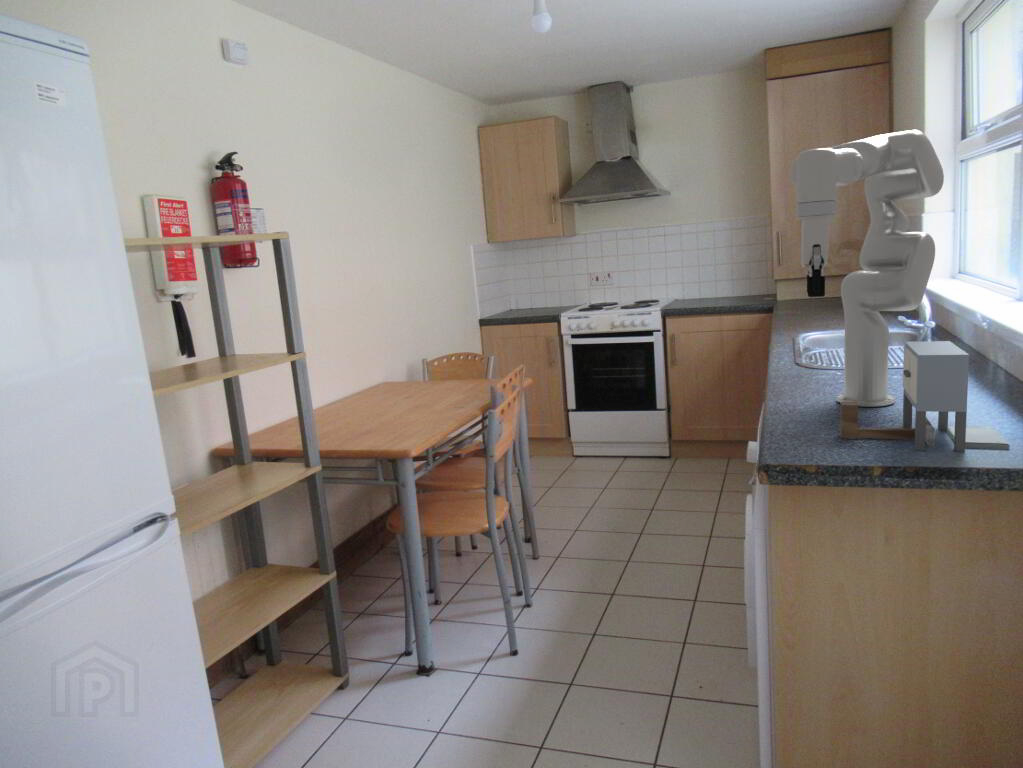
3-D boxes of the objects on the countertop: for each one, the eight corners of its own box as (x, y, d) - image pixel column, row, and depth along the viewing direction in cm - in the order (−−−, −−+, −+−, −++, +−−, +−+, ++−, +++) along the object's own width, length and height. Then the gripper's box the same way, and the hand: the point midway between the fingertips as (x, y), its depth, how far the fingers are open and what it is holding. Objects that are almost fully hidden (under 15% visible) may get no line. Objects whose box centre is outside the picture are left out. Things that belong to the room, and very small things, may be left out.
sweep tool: (839, 430, 157) (839, 398, 156) (925, 432, 151) (926, 398, 150) (842, 443, 148) (842, 408, 146) (934, 445, 142) (935, 409, 141)
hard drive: (1010, 443, 136) (994, 427, 148) (958, 442, 139) (946, 426, 151) (1009, 452, 137) (993, 435, 148) (958, 450, 140) (946, 433, 151)
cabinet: (897, 427, 156) (899, 341, 153) (946, 428, 153) (949, 341, 150) (909, 450, 140) (912, 355, 137) (964, 451, 137) (969, 354, 134)
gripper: (796, 213, 163) (796, 292, 166) (796, 212, 147) (796, 298, 150) (833, 211, 161) (832, 291, 164) (838, 208, 145) (837, 297, 148)
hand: (815, 294), depth 157 cm, fingers open, 9 cm apart
